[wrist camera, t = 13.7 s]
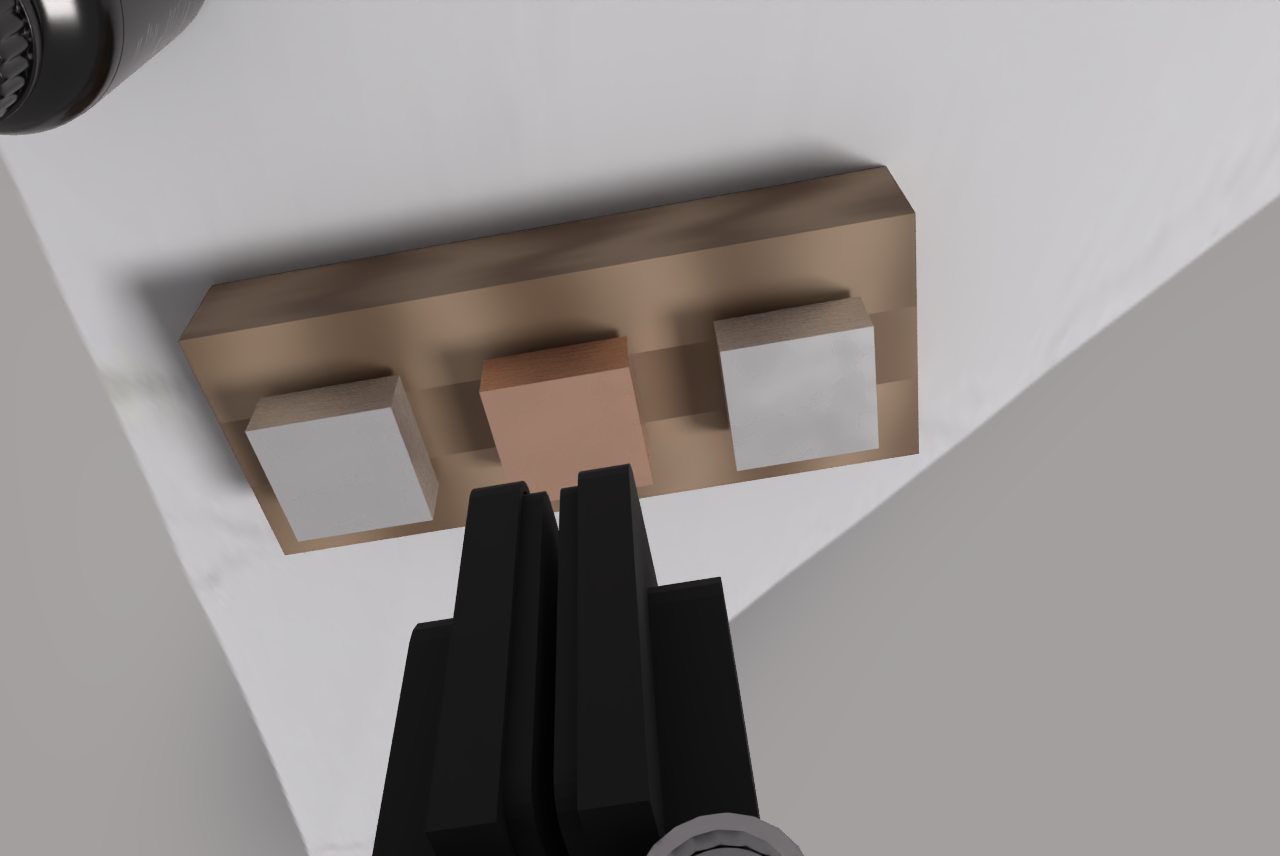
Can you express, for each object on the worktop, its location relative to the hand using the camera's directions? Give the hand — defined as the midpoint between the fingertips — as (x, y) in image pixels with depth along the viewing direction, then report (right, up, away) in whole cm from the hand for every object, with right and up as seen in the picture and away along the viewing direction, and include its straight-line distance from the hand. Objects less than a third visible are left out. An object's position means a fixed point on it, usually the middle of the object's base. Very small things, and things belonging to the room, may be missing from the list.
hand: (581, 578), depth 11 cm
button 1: (-10, +3, +30) cm, 32 cm away
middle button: (-2, +5, +29) cm, 30 cm away
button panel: (-2, +5, +30) cm, 30 cm away
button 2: (+6, +6, +29) cm, 30 cm away
